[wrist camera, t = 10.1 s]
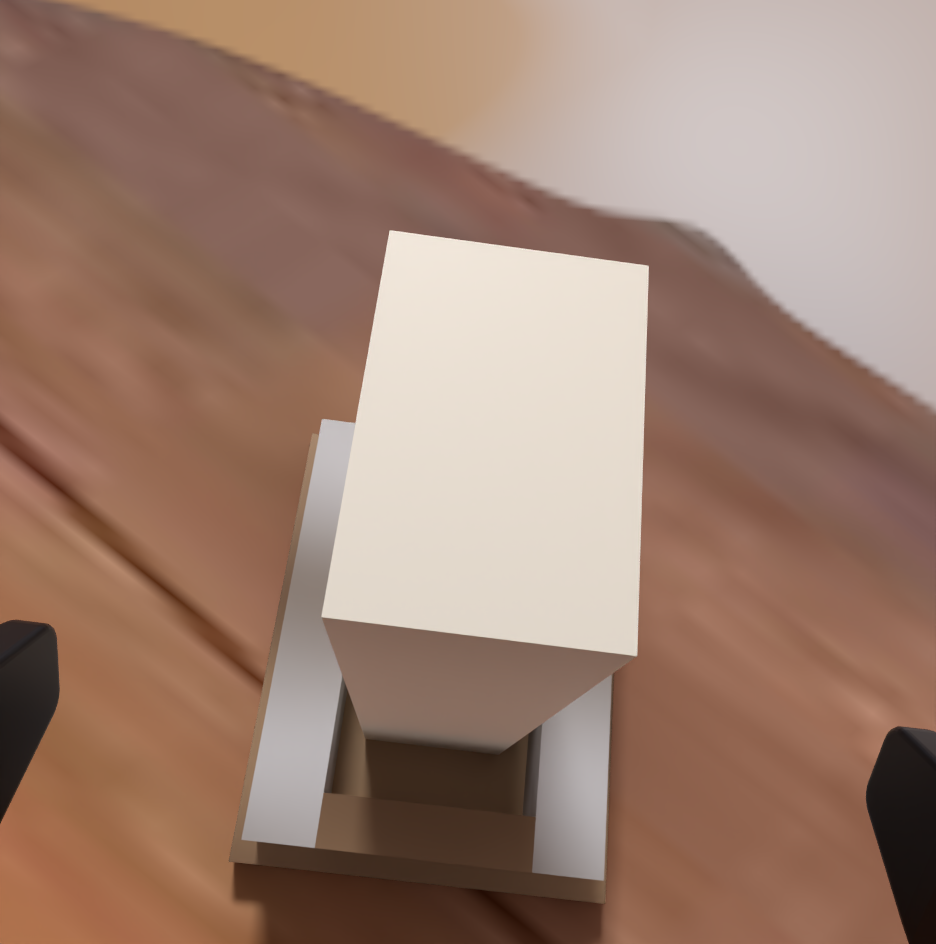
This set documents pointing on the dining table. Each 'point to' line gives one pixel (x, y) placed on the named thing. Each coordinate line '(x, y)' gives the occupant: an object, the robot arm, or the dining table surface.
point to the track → (408, 759)
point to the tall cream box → (490, 492)
